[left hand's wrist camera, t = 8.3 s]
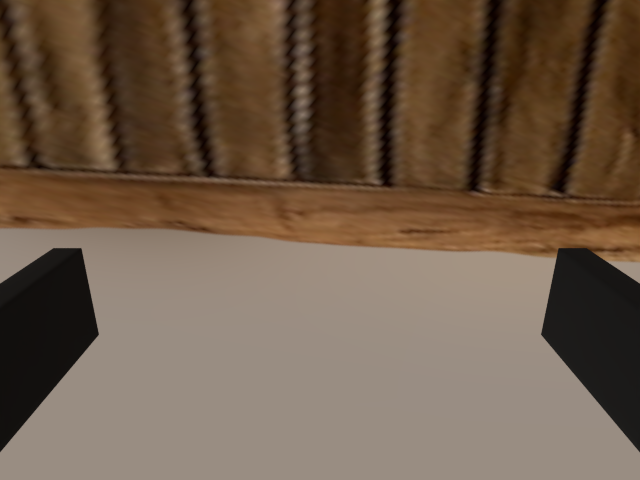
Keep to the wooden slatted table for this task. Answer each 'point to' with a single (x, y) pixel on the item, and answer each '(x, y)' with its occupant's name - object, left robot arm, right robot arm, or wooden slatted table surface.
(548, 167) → the wooden slatted table surface
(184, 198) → the wooden slatted table surface
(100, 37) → the wooden slatted table surface
